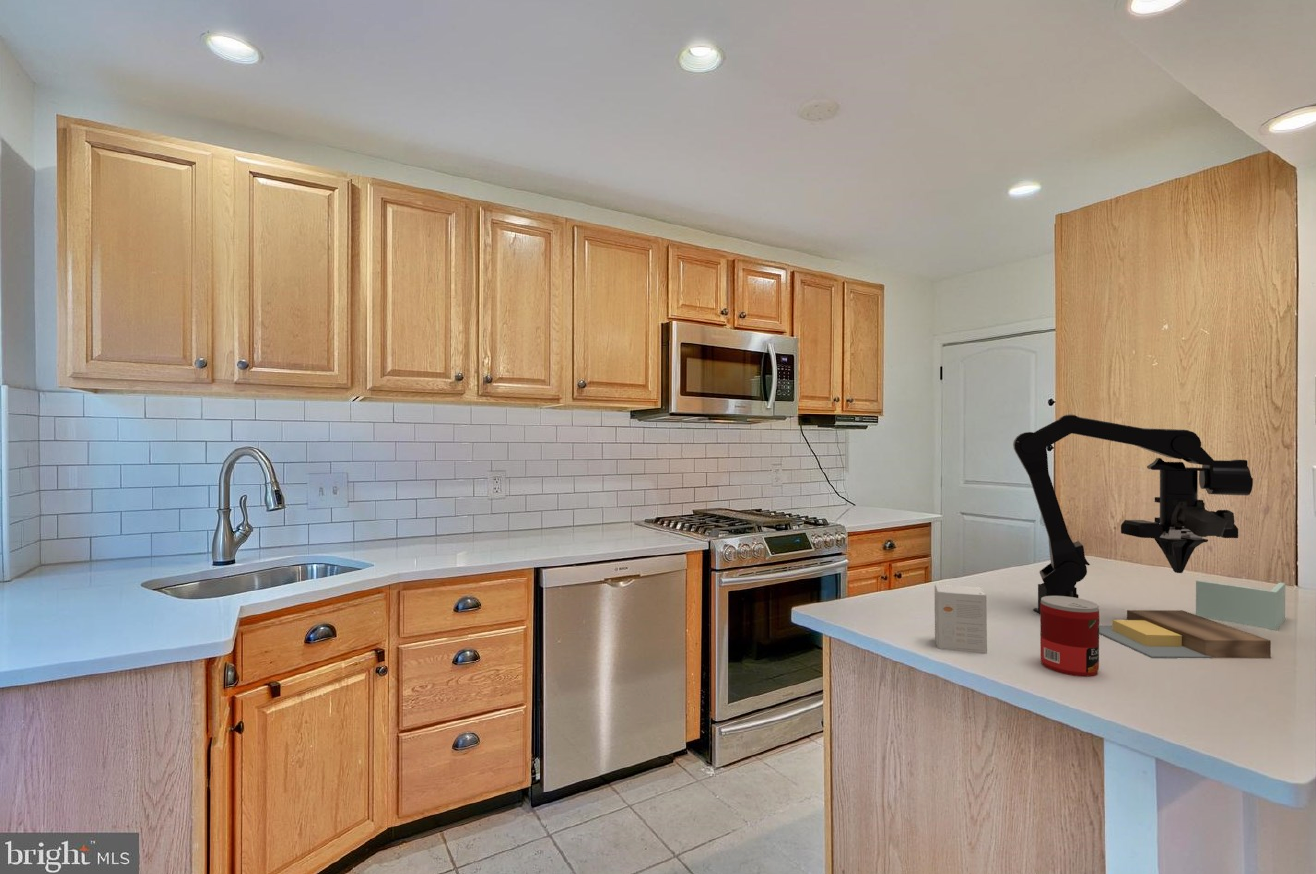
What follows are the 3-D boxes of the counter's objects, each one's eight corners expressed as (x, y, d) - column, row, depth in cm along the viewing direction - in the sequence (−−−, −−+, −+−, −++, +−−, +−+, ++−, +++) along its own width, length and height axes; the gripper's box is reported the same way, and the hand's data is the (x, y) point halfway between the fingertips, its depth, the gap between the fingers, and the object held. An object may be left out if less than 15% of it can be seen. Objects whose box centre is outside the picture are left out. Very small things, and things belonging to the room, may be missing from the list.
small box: (982, 644, 112) (982, 587, 112) (987, 655, 107) (987, 594, 107) (934, 640, 115) (934, 583, 115) (937, 650, 110) (937, 591, 110)
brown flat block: (1205, 657, 106) (1205, 640, 106) (1126, 625, 124) (1127, 610, 124) (1270, 658, 106) (1270, 640, 106) (1182, 625, 124) (1182, 610, 124)
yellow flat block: (1146, 646, 110) (1146, 635, 110) (1112, 630, 119) (1112, 619, 119) (1181, 646, 110) (1181, 635, 110) (1144, 630, 119) (1144, 620, 119)
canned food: (1100, 682, 96) (1101, 611, 95) (1040, 671, 100) (1040, 603, 100) (1097, 666, 102) (1097, 599, 102) (1040, 657, 106) (1040, 593, 106)
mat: (1152, 658, 105) (1152, 656, 105) (1084, 627, 122) (1084, 625, 122) (1211, 658, 105) (1211, 656, 105) (1135, 627, 122) (1135, 625, 122)
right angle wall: (1285, 619, 128) (1285, 583, 128) (1275, 630, 121) (1276, 592, 121) (1208, 606, 137) (1208, 572, 137) (1195, 616, 130) (1196, 580, 130)
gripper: (1163, 497, 113) (1163, 582, 113) (1266, 497, 113) (1266, 582, 113) (1118, 492, 125) (1118, 569, 125) (1212, 492, 124) (1212, 569, 124)
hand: (1178, 572), depth 121 cm, fingers closed
